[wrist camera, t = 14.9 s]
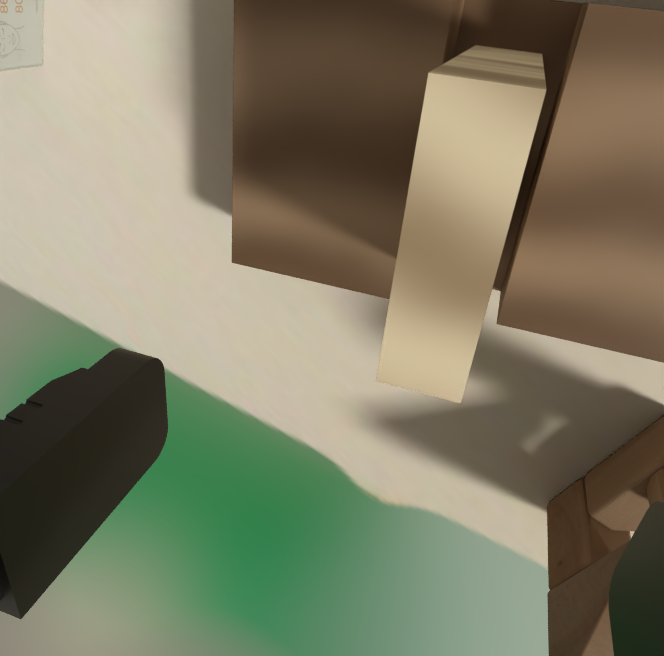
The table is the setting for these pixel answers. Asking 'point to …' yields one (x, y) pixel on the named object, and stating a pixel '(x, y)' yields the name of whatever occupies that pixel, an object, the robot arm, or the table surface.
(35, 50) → the small box
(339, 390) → the table surface
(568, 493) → the wooden toy block structure
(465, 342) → the maple slat
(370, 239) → the slotted plate
